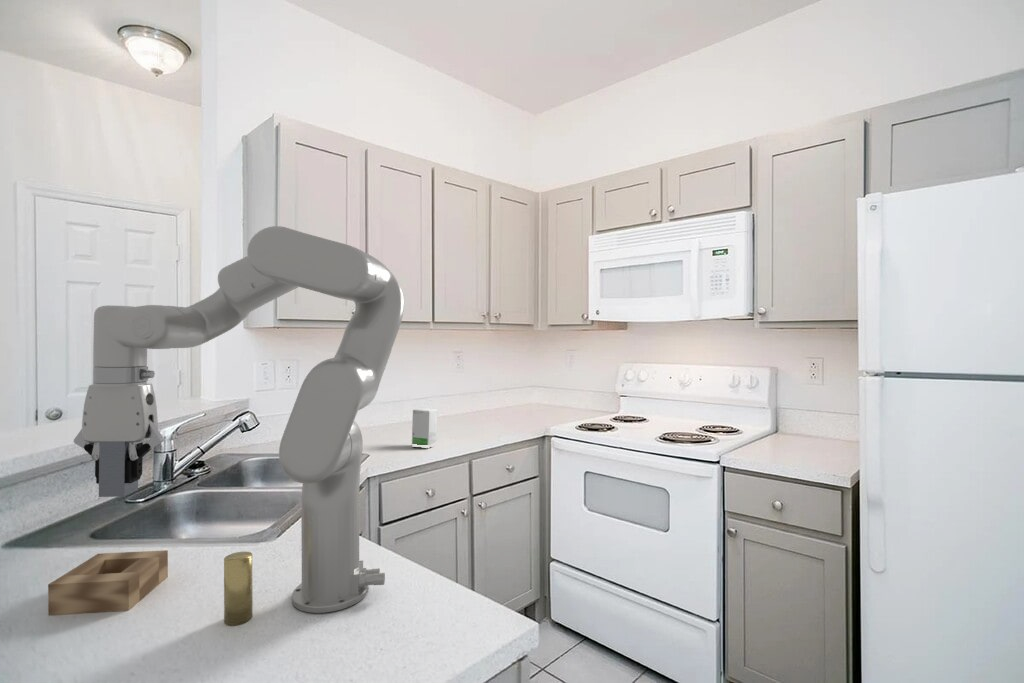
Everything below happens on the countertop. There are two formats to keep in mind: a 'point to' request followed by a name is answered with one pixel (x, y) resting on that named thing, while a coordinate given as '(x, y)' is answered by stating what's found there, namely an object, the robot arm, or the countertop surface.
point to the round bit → (238, 588)
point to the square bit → (114, 469)
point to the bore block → (108, 582)
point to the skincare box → (424, 426)
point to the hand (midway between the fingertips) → (118, 480)
